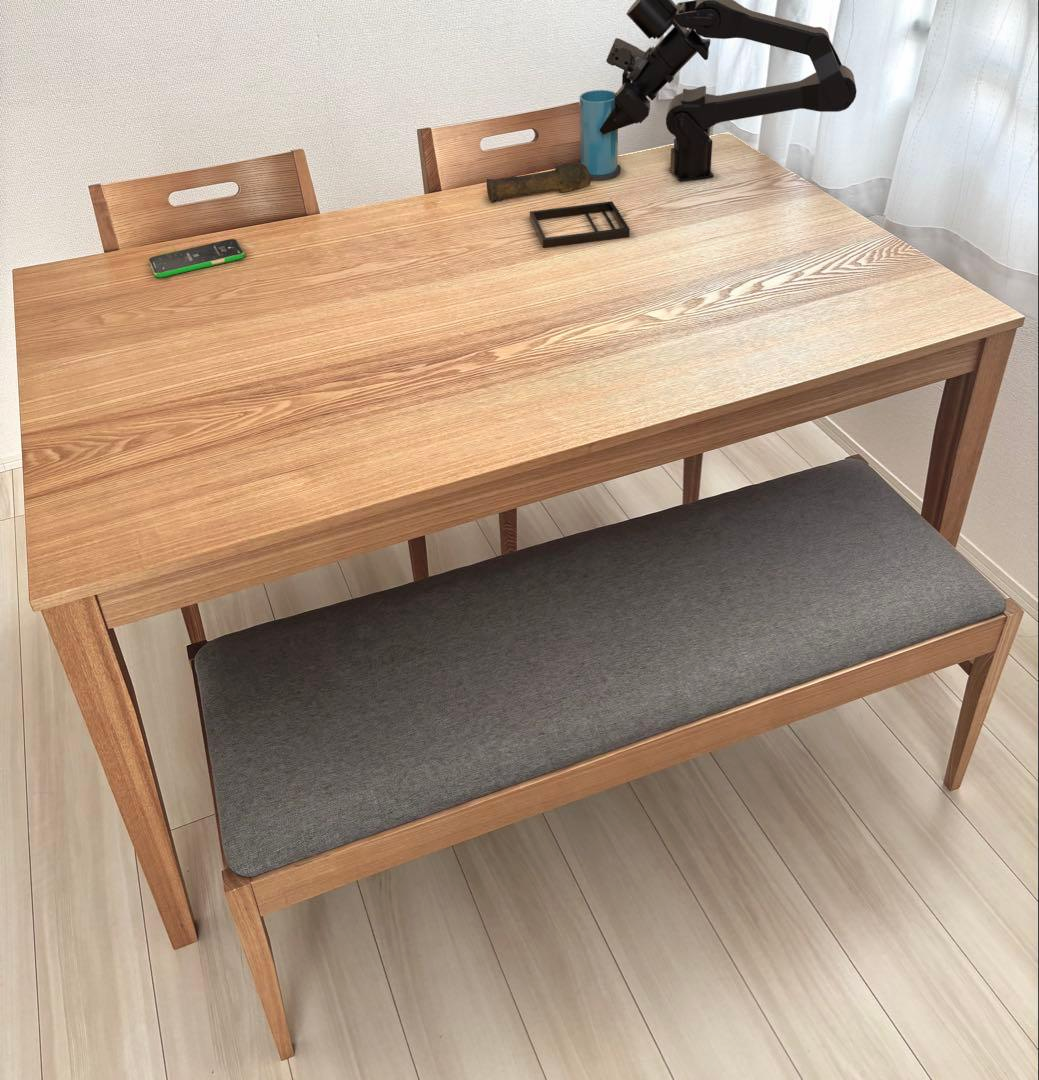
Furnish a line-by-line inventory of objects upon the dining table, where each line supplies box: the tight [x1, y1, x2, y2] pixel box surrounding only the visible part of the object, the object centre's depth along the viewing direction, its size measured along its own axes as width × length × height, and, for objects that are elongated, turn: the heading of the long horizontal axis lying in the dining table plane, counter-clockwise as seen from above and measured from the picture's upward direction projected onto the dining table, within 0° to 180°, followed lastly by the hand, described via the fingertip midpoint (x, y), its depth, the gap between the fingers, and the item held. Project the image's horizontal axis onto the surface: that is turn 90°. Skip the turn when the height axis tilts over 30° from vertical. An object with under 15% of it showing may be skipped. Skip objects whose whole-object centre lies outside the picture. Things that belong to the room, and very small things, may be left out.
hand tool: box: [486, 162, 591, 203], centre depth 188 cm, size 19×4×5 cm, turn 101°
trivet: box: [590, 164, 622, 182], centre depth 195 cm, size 8×8×1 cm
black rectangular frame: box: [529, 201, 630, 249], centre depth 177 cm, size 15×12×2 cm
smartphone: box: [148, 238, 246, 279], centre depth 175 cm, size 8×1×15 cm
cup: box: [578, 89, 619, 175], centre depth 191 cm, size 7×7×13 cm
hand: (604, 123), depth 190 cm, fingers open, 9 cm apart
